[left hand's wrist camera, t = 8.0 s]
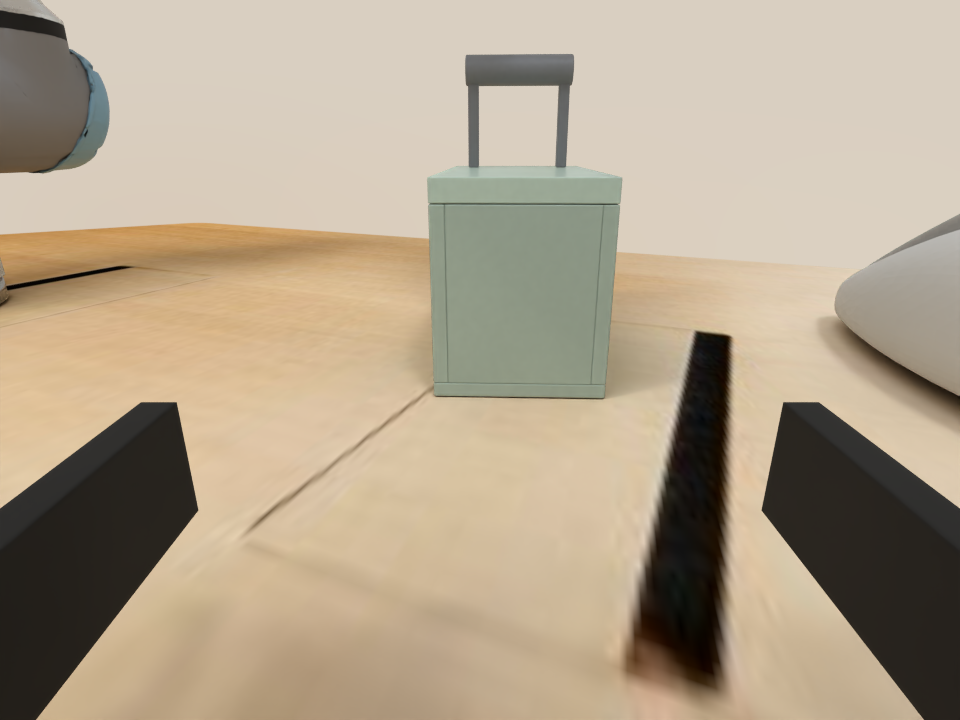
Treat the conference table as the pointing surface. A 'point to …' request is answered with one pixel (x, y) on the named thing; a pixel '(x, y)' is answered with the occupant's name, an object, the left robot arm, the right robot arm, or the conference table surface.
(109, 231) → the conference table surface
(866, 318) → the projector
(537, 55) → the lid
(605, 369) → the chest
